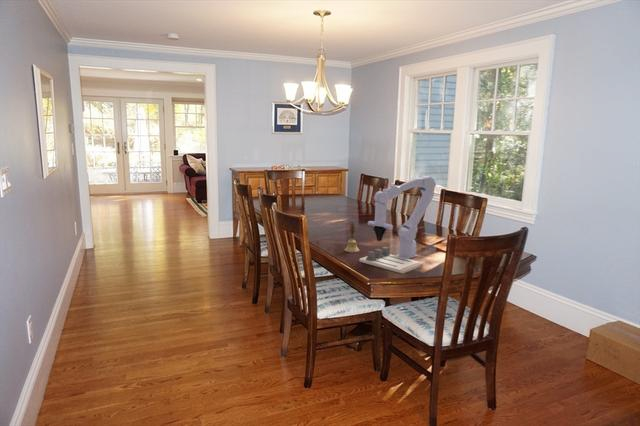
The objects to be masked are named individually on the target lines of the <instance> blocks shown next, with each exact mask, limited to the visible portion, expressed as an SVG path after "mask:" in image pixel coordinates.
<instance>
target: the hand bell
mask: <svg viewBox="0 0 640 426" xmlns="http://www.w3.org/2000/svg"><path fill="white" fill-rule="evenodd" d="M355 228H356V227H355V222H354V221H352V222H350V225H349V232H350V239H349V240H348V241H347V245H346V247H345V248H344V251H345V252H347V253H358V252H360V249H359V248H358V246H357V241H356V240H355V239H354V236H355V235H354V233H355V231H356V230H355Z"/></svg>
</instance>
